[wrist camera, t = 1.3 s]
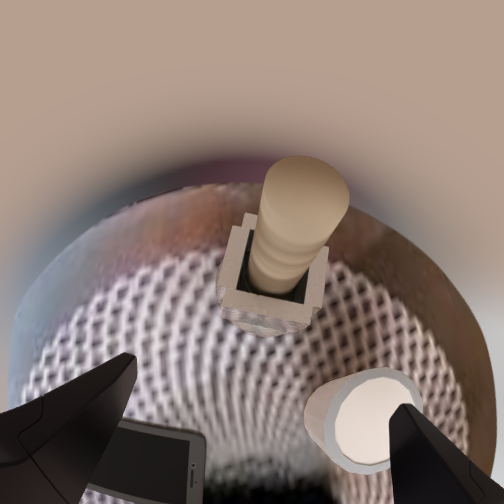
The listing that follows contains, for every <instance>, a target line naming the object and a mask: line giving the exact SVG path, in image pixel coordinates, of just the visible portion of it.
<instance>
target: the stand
mask: <svg viewBox="0 0 504 504" xmlns="http://www.w3.org/2000/svg"><path fill="white" fill-rule="evenodd" d="M257 217H258V215H254V214H250V213H245V215H244V219H243V223H242V227H239V226H234V225H233V226H232V230H231V234H230V237H229V241H228V245H227V248H226V252H225V256H224V259H223V260H222V262H221V264H220V266H219V269H218V272H217V276H216V293H217V299H218V303H219V306H220V308H221V310H222V318H224V319H228V320H229V321H230V322H231V323H232V324H233V325H234V326H235V327H236V328H238V329H239V330H241V331H243V332H245V333H247V334H250V335H253V336H256V337H268V338H270V337H277V336H281V335H284V334H287V333H289V332H290V333H295V334H297V333H298V332H300V331H301V330H303V329H304V328H306V327H307V326H309V325H310V322H311V316H312V315H314V314H315V313H316V312H317V311H319V310H320V309H321V308H322V303H323V295H324V287H325V279H326V270H327V261H328V252H329V247H326V246H323V247H322V249H321V250H320V252H319V253H318V255H317V256H316V258H315V259H314V260H313V262H312V263H311V265H310V266H309V268H308V269H307V271H306V272H305V273H304V275H303V276H302V278H301V279H300V280H299V282H298V283H297V285H296V286H295V287H294V290H293V291H292V293H291V294H290V295H289V297H288V298H287V299H285V300H280V299H275V298H270V297H266V296H261V295H257V294H252V293H248V292H247V290H246V286H245V274H246V270H247V267H248V262H249V257H250V252H251V247H252V242H253V237H254V232H255V227H256V222H257Z"/></svg>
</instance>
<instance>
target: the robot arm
mask: <svg viewBox="0 0 504 504" xmlns="http://www.w3.org/2000/svg"><path fill="white" fill-rule="evenodd" d="M136 379H137V358H136V356H135V355H133V354H130V353H127V352H124V353H122V354H120V355H118V356H116V357H114V358H112V359H110V360H109V361H107V362H105V363H103V364H101V365H99V366H97V367H96V368H94V369H92V370H90V371H88V372H86V373H84V374H82V375H81V376H79V377H77V378H75V379H73V380H71V381H69V382H67V383H65V384H63V385H62V386H60V387H58V388H56V389H54V390H52V391H50V392H48V393H46V394H44V397H43V396H40V397H38V398H36V399H34V400H32V401H30V402H28V403H26V404H24V405H21V406H19V407H16V408H14V409H11V410H9V411H6V412H3V413H0V504H78V503H79V501H80V499H81V497H82V495H83V493H84V491H85V489H86V487H87V485H88V483H89V481H90V479H91V477H92V475H93V473H94V471H95V469H96V467H97V465H98V463H99V461H100V459H101V457H102V455H103V453H104V451H105V449H106V447H107V445H108V443H109V441H110V439H111V437H112V435H113V433H114V432H115V430H116V428H117V426H118V424H119V422H120V420H121V418H122V416H123V413H124V411H125V408H126V405H127V403H128V400H129V397H130V395H131V392H132V389H133V387H134V384H135V382H136ZM389 454H390V466H391V475H392V485H393V496H394V504H504V488H503V487H501V486H500V485H499V484H497V483H496V482H495V481H494V480H492V479H491V478H490V477H489V476H487V475H486V474H485V473H484V472H483V471H482V470H481V469H479V468H478V467H477V466H476V465H475V464H474V463H473V462H472V461H471V460H469V458H468V457H467V456H466V455H465V454H464V453H463V452H462V451H460V450H459V449H458V448H457V447H456V446H455V445H454V444H453V443H452V442H451V441H450V440H449V439H448V438H447V437H446V436H445V435H444V434H443V433H442V432H441V431H440V430H439V429H438V428H436V427H435V426H434V425H433V424H432V423H431V422H430V421H429V420H428V419H427V418H426V417H425V416H424V415H423V414H422V413H421V412H420V411H419V410H418V409H417V408H416V407H415V406H414V405H412V404H410V403H402V404H400V405H399V406H398V408H397V409H396V410H395V412H394V413H393V414H392V416H391V417H390V419H389Z"/></svg>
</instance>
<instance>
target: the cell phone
mask: <svg viewBox="0 0 504 504" xmlns="http://www.w3.org/2000/svg"><path fill="white" fill-rule="evenodd" d="M205 458H206V441H205V438H204V437H203V436H202V435H199V434H195V433H190V432H185V431H179V430H173V429H167V428H161V427H156V426H151V425H146V424H141V423H136V422H132V421H127V420H123V419H121V420H120V422H119V424H118V426H117V428H116V430H115V432H114V433H113V435H112V437H111V439H110V441H109V443H108V445H107V447H106V449H105V451H104V453H103V455H102V457H101V459H100V461H99V463H98V465H97V467H96V469H95V471H94V473H93V475H92V477H91V479H90V481H89V483H88V485H87V487H86V488H88V489H91V490H94V491H97V492H100V493H103V494H106V495H109V496H113V497H116V498H119V499H123V500H127V501H131V502H134V503H138V504H202V503H203V488H204V472H205Z"/></svg>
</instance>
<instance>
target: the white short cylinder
mask: <svg viewBox="0 0 504 504" xmlns="http://www.w3.org/2000/svg"><path fill="white" fill-rule="evenodd" d="M402 403H410V404H412V405H414V406H415V407H416V408H417V409H418V410H419V411H420V412H421V413H422V414H423V403H422V398H421V396H420V393H419V391H418V389H417V387H416V384H415V383H414V382H413V381H412V380H411V379H410V378H409V377H407V376H406V375H405V374H404V373H403V372H402V371H398V370H394V369H391V368H387V367H380V368H374V369H368V370H363V371H360V372H357V373H354V374H351V375H348V376H345V377H342V378H339V379H336V380H332V381H329V382H328V383H326V384H324V385H322V386H320V387H318V388H317V389H316V390H315V392H314V393H313V394H312V395H311V396H310V397H309V398H308V401H307V404H306V407H305V409H304V425H305V427H306V429H307V431H308V433H309V435H310V437H311V438H312V439H313V440H314V441H315V442H316V443H317V444H318V445H319V447H320V448H321V449H322V450H323V451H324V452H325V453H326V454H327V455H328V456H329V457H330V458H331V459H332V460H333V462H335V463H336V464H338V465H339V466H341V467H342V468H343V469H345V470H346V471H348V472H351V473H358V474H366V475H369V474H373V473H376V472H380V471H383V470H386V469H389V468H390V467H391V466H390V454H389V419H390V417H391V416H392V414H393V413H394V412H395V410H396V409H397V408H398V406H399V405H400V404H402Z"/></svg>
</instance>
